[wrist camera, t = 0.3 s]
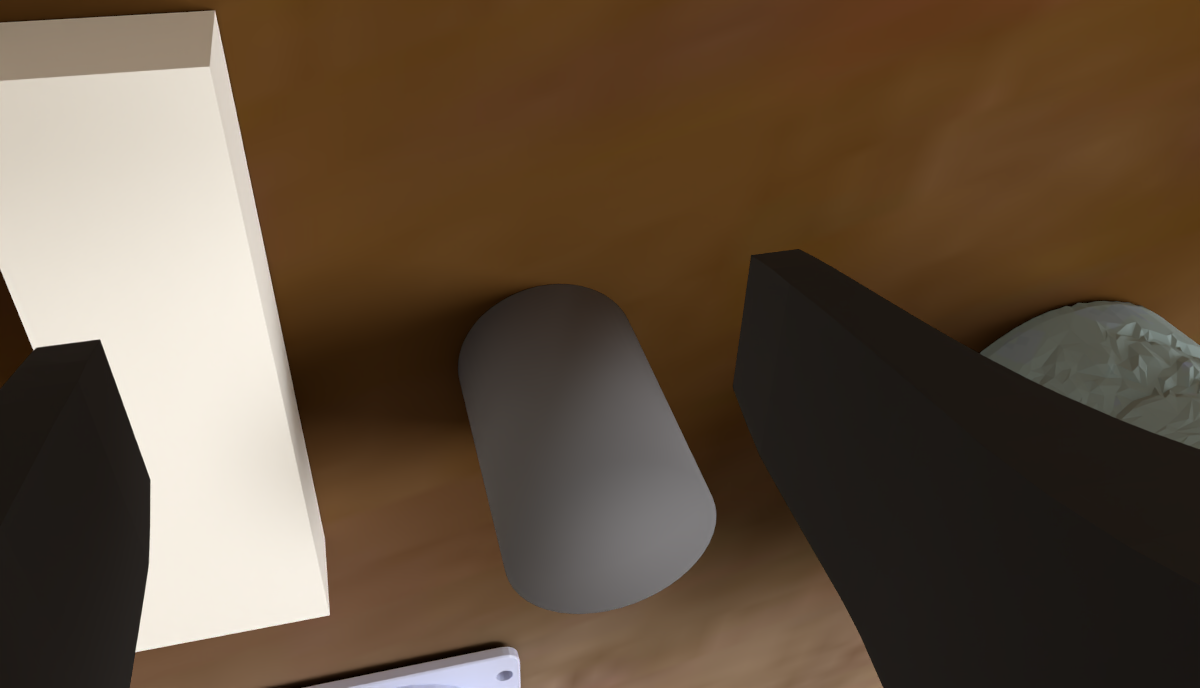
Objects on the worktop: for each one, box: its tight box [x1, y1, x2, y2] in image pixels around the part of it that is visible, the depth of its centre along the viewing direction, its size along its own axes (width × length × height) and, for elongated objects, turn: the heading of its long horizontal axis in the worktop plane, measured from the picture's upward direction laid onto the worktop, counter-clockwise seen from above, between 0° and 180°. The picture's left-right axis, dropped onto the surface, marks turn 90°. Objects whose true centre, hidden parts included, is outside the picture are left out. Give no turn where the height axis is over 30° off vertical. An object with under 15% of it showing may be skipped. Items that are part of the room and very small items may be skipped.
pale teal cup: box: [979, 301, 1200, 449], centre depth 27 cm, size 10×10×12 cm
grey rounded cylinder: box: [458, 284, 716, 614], centre depth 22 cm, size 4×4×6 cm
